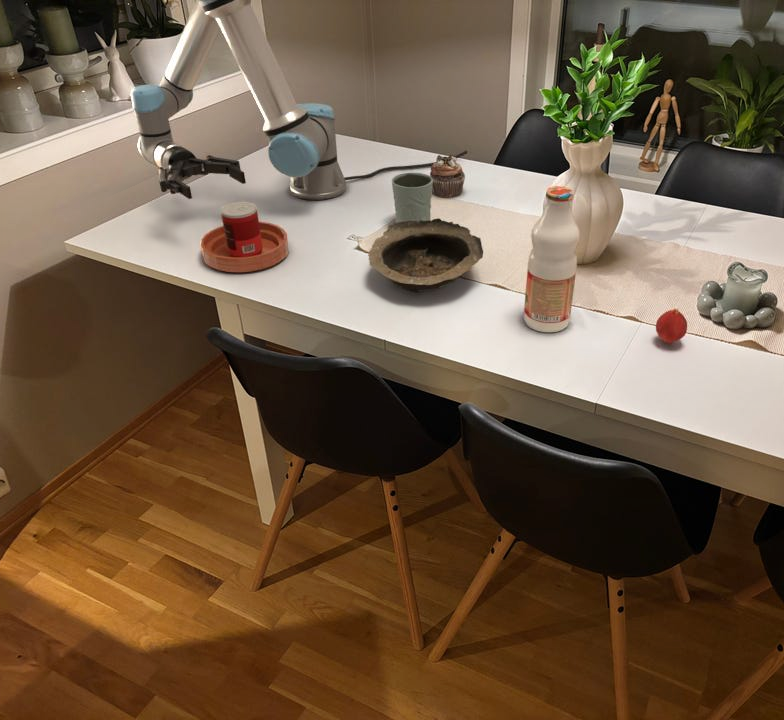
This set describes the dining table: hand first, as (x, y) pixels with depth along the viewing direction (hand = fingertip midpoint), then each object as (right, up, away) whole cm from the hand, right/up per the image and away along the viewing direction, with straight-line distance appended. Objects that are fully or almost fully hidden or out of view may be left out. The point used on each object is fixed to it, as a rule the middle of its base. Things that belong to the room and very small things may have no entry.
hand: (217, 185), depth 169 cm
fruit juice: (+73, -33, -20) cm, 83 cm away
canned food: (+6, -15, +2) cm, 17 cm away
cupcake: (+53, +6, +34) cm, 64 cm away
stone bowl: (+48, -22, -6) cm, 54 cm away
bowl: (+6, -16, +2) cm, 17 cm away
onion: (+96, -37, -26) cm, 106 cm away
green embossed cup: (+44, -6, +17) cm, 48 cm away
